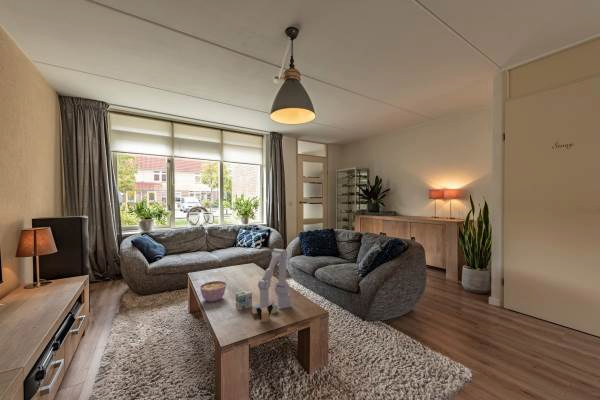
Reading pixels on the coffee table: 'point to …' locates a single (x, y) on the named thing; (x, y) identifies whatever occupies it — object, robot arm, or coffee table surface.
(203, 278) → the coffee table surface
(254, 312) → the walnut base
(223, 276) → the coffee table surface
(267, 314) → the terracotta cube
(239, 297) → the light bulb box
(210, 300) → the bowl of food
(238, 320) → the coffee table surface
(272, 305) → the sage cube
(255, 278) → the coffee table surface
